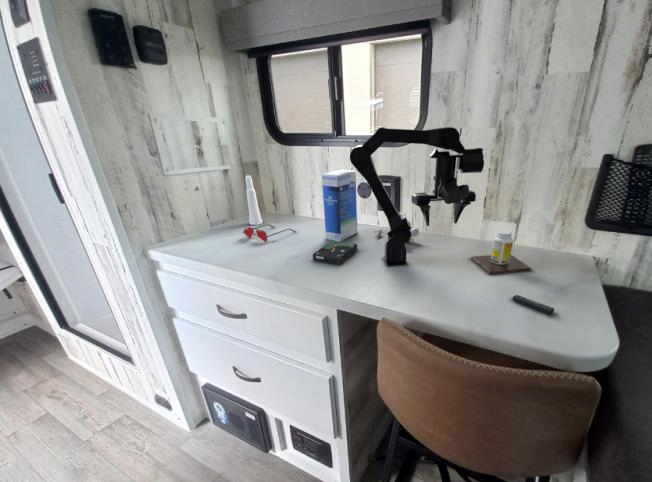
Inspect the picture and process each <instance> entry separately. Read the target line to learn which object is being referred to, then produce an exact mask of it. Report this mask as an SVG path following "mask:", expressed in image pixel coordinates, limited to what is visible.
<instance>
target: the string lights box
mask: <svg viewBox="0 0 652 482" xmlns="http://www.w3.org/2000/svg"><path fill="white" fill-rule="evenodd" d="M356 171H357V170H352V169H351V170H350V169H338V170H334V171H329V172H323V173H321V184H322V199H323V212H324V214H323V215H324V228H325V239H326V240H329V241H337V242H344V240H346V239H349V238H350V237H352V236H354V235H356V234H357V233H358V211H357V205H358V204H357V173H356Z"/></svg>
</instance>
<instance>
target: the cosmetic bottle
mask: <svg viewBox="0 0 652 482" xmlns="http://www.w3.org/2000/svg"><path fill="white" fill-rule="evenodd" d="M245 185H246V190H245V191H246V199H247V208H248V220H249V221H248V222H249V223H248V224H249V225H251V226H256V225H261V224H263V223H264V222H263V219H262V216H261V212H260V208H259V203H258V199H257V194H256V189H255V188H254V183H253V178H252V176H251V175H249V174H248V175H245Z"/></svg>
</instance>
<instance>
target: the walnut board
mask: <svg viewBox="0 0 652 482" xmlns="http://www.w3.org/2000/svg"><path fill="white" fill-rule="evenodd" d="M491 255H492V254H488V255H475V256H470V260H471V262H473V263H475V264H476V265H477V266H478V267H480V269H482V270H483V272H485V273H486V274H488V275H498V274H499V275H501V274H509V273H511V274H512V273H522V272H530V271H532V267H531V266H529V265H528V264H526V263H524V262H523V261H521V260H520V259H518V258H517V257H515V256H514V255H512V254H511V255H510V260H509V263H508V264H505V265H499V264H495V263H493V262H492V261H491Z"/></svg>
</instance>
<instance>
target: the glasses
mask: <svg viewBox="0 0 652 482" xmlns="http://www.w3.org/2000/svg"><path fill="white" fill-rule="evenodd" d="M266 226H269V227H271V228H273V229H274V228H275V226H273V225H271V224H268V223H267V224H264V225H260V226H257V227H249V226H246V227H244V229H243V231H242V234H244V235H245V236H246V237H247V238H248V239H251V238H252V237H254V236H256V237H257V238H259V239H261V240H262V241H263V242H265V243H267V241H268V238H270V237H272V236H276V235H277V234H280V233H283V232H286V231H291V232H294V233H297V231H296V230H295V229H291V228H287V229H284V230H281V231H278V232H275V233H272V234H268V235H267V232H266V231H264V230H263V229H259V228H262V227H266ZM254 230H255V231H254Z"/></svg>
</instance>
